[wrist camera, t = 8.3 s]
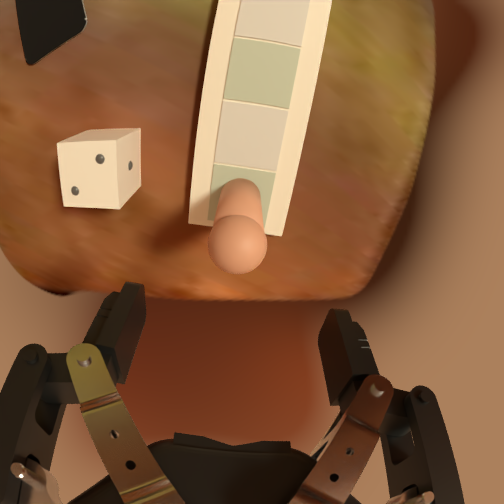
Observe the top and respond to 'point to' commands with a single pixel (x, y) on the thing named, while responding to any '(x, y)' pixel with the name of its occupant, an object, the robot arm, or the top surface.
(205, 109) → the board
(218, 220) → the pawn
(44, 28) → the smartphone
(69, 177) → the die
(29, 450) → the robot arm
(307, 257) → the top surface
